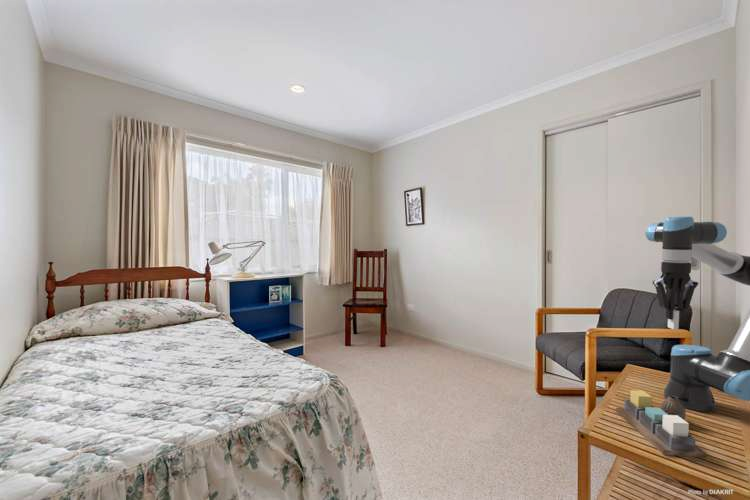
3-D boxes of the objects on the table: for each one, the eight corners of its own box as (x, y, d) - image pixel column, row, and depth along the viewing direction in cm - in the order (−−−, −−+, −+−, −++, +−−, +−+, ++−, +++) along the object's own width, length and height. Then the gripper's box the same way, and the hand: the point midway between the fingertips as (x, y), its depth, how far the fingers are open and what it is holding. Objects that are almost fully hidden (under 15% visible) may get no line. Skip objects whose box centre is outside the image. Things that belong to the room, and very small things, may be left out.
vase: (687, 428, 114) (689, 404, 113) (662, 422, 117) (663, 399, 117) (682, 418, 120) (683, 395, 119) (658, 412, 123) (659, 390, 123)
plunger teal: (658, 421, 114) (658, 407, 113) (667, 428, 109) (668, 414, 109) (644, 420, 114) (645, 407, 114) (653, 428, 110) (654, 414, 110)
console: (649, 412, 123) (650, 399, 123) (705, 457, 99) (706, 440, 99) (616, 411, 125) (616, 397, 124) (663, 454, 101) (663, 438, 100)
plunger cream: (676, 429, 106) (677, 415, 105) (688, 438, 101) (688, 423, 101) (662, 428, 106) (662, 414, 106) (672, 437, 102) (673, 422, 101)
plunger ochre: (642, 403, 121) (643, 390, 121) (651, 409, 117) (651, 396, 117) (630, 402, 122) (630, 390, 122) (638, 409, 118) (638, 396, 117)
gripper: (688, 260, 113) (684, 325, 114) (647, 260, 114) (644, 324, 116) (707, 262, 105) (703, 332, 107) (663, 262, 107) (660, 331, 109)
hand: (672, 328), depth 112 cm, fingers closed
